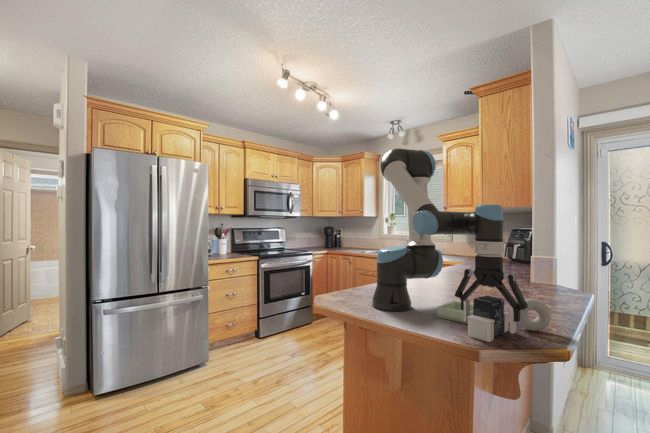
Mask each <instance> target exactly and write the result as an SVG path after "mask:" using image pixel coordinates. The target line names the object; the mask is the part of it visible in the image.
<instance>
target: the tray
mask: <svg viewBox="0 0 650 433" xmlns="http://www.w3.org/2000/svg"><path fill="white" fill-rule="evenodd" d="M470 315H473V304H471V303H470ZM436 317H437V318H442V319H446V320H449V321H453V320H454V321H453V322H457V321H458V322H457V323H461V322H462V323H461V324H464V325H468V321H467V322H464V310H461V301H456V300H453V301H450V302H447V303H444V304H441V305H438V306H437V307H436Z"/></svg>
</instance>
